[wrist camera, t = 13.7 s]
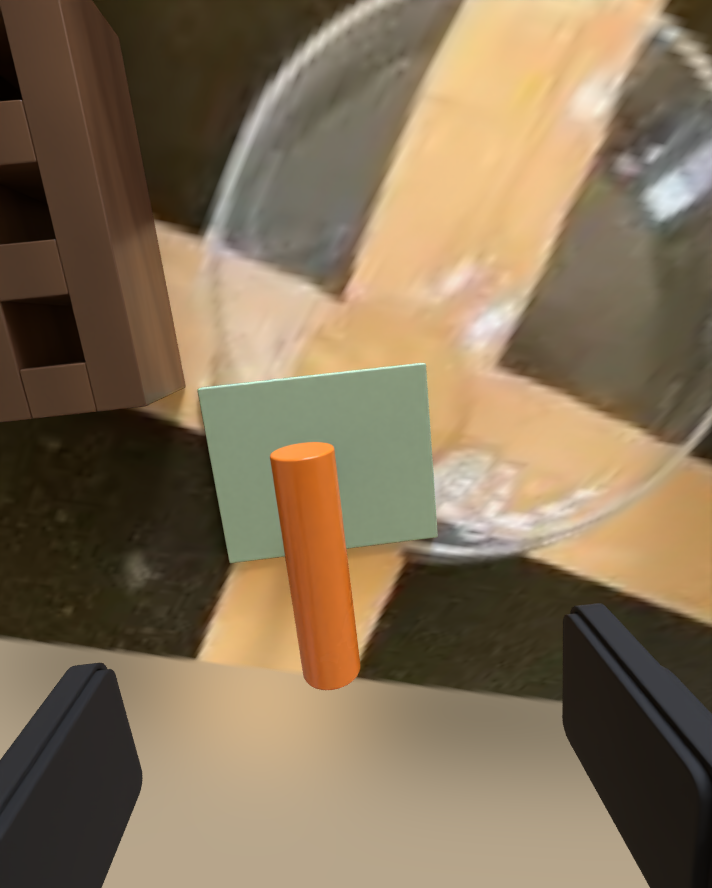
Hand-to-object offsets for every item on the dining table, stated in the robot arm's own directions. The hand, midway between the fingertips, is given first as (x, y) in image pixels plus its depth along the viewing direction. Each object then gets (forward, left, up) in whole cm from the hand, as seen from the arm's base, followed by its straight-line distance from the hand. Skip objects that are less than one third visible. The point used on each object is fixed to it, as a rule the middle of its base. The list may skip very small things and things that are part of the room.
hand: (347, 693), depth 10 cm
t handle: (+1, 0, -17) cm, 17 cm away
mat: (0, 0, -18) cm, 18 cm away
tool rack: (+10, -13, -18) cm, 24 cm away
